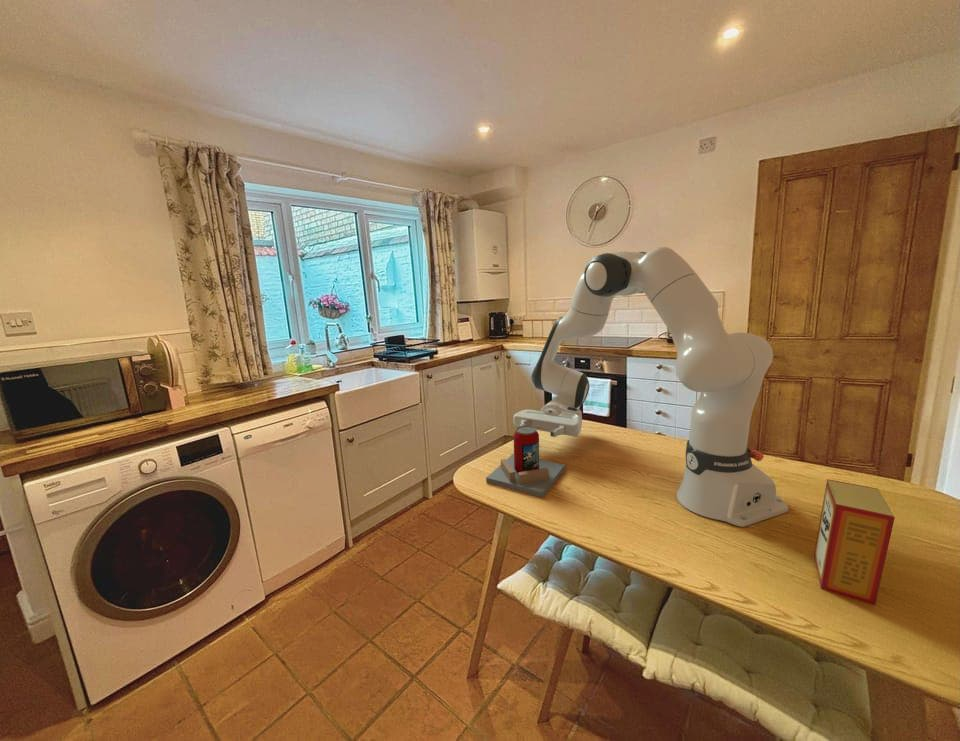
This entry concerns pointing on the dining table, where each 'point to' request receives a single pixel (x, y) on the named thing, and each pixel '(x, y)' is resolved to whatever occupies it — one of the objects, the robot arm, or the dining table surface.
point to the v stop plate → (528, 486)
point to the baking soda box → (852, 540)
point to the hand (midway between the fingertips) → (536, 431)
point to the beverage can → (526, 449)
